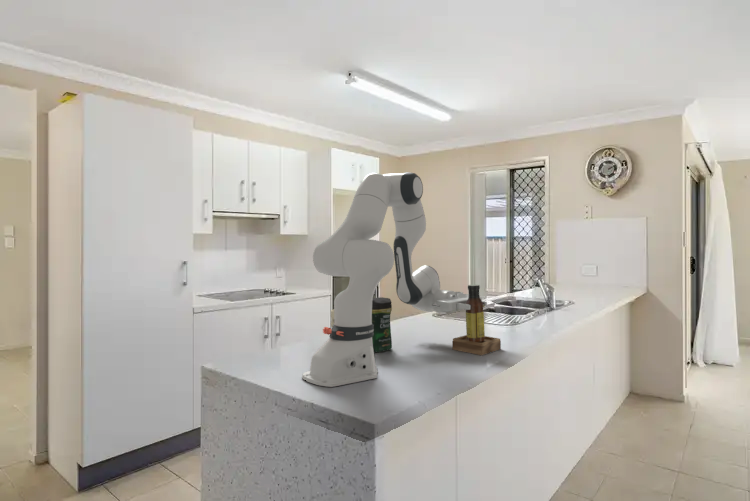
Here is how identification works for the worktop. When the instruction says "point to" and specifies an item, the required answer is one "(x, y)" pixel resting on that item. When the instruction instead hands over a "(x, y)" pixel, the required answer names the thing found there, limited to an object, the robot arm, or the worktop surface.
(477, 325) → the sauce bottle
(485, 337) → the tray
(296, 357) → the worktop surface
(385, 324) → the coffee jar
